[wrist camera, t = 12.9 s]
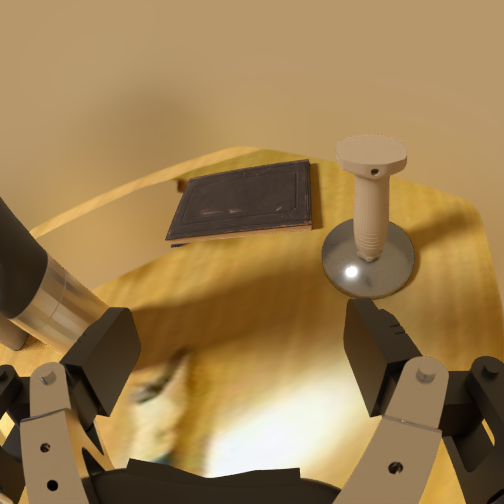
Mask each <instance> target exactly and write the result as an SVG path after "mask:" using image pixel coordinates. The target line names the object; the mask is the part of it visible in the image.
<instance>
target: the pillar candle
mask: <svg viewBox="0 0 504 504" xmlns="http://www.w3.org/2000/svg"><path fill="white" fill-rule="evenodd" d="M28 334H29V333H28V332H26V331H24V330H23V329H21V328H20V327H18V326H17V325H15V324H14V323H13V322H11V321H10V320H8V319H7V318H5V317H4V316H3V315H1V314H0V343H2V344H3V345H5V346H7V347H8V348H10V349H12V350H14V351H16V350H19V349H21V347H22V346H23V345H24V343H25V342H26V339H27V337H28Z"/></svg>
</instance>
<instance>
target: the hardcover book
mask: <svg viewBox="0 0 504 504" xmlns="http://www.w3.org/2000/svg"><path fill="white" fill-rule="evenodd" d="M309 166H310V163H309V159H305V160H297V161H290V162H282V163H275V164H268V165H262V166H255V167H249V168H243V169H237V170H231V171H226V172H220V173H215V174H210V175H205V176H200V177H195V178H190V179H189V182H188V184H187V186H186V189H185V191H184V193H183V196H182V198H181V201H180V203H179V206H178V208H177V211H176V213H175V215H174V218H173V220H172V223H171V226H170V228H169V231H168V233H167V236H166V239H165V240H170V242H171V243H172V244H171V248H174V247H182V246H185V245H186V244H188V243H190V242H196V241H205V240H215V239H225V238H235V237H245V236H255V235H265V234H276V233H286V232H297V231H308V230H312V213H311V189H310V170H309Z"/></svg>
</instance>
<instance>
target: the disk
mask: <svg viewBox="0 0 504 504" xmlns="http://www.w3.org/2000/svg"><path fill="white" fill-rule="evenodd" d="M353 219H354V218H353ZM353 219H350V220H347V221H345V222H343V223H341V224H339V225H338V226H336V227H335V228H334V229H333V230H332V231H331V232H330V233H329V234H328V236H327V237H326V239H325V241H324V244H323V247H322V262H323V268H324V271H325V274H326V276H327V278H328V279H329V281H330V282H331V283H332V284H333V285H334V286H335V287H336V288H337V289H338V290H340V291H341V292H343V293H344V294H346V295H349V296H351V297H354V298H365V297H369V298H370V299H371V300H374V299H380V298H384V297H387V296H390V295H392V294H394V293H395V292H397V291H398V290H399V289H401V288H402V287H403V286H404V285H405V283H406V282H407V280H408V279H409V277H410V275H411V272H412V269H413V265H414V259H415V255H414V248H413V245H412V243H411V241H410V239H409V237H408V236H407V234H406V233H405V232H404V231H403V230H402V229H401V228H399V227H398V226H397V225H395V224H394V223H392V222H390V221H389V226H388V233H387V237H386V241H385V244H384V246H383V249H382V250H383V252H382V255H381V257H380V258H376V259H374V260H373V261H372V262H367V261H366V260H365V259H363V258H359V257H358V255H357V246H356V243H355V237H354V226H353V225H354V224H353Z"/></svg>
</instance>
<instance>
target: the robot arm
mask: <svg viewBox="0 0 504 504" xmlns="http://www.w3.org/2000/svg"><path fill="white" fill-rule="evenodd" d="M0 314H1V315H3V316H4V317H5V318H7V319H8V320H10V321H11V322H13V323H14V324H15V325H17V326H18V327H20V328H21V329H23V330H24V331H26V332H28V333H29V334H31V335H32V336H34V337H35V338H37V339H39V340H40V341H42V342H43V343H45V344H47V345H48V346H50V347H52V348H53V349H55V350H57V351H59V352H60V353H62V354H64V355H65V356H64V357H63V358H62V359H61V361H60V362H59V363H57V362H50V363H46V364H43V365H41V366H40V367H38V368H37V369H36V370H35V371H34V372H33V373H32V375H31V377H19V376H18V374H17V372H16V370H15V369H14V367H13V366H11V365H1V366H0V420H1V418H2V416H3V415H4V413H5V412H7V414H8V415H9V416H10V418H11V419H12V420H13V422H14V423H15V425H14V427H13V428H12V430H11V432H10V434H9V435H8V437H7V439H6V441H5V443H4V445H3V446H2V447H1V446H0V504H18V503H19V500H20V497H21V495H22V492H23V490H24V487H25V485H26V488H27V494H28V499H29V503H30V504H418V503H419V501H420V498H421V496H422V494H423V491H424V489H425V486H426V483H427V481H428V478H429V475H430V472H431V469H432V466H433V463H434V460H435V457H436V454H437V451H438V447H439V444H440V440H441V437H442V439H443V441H444V444H445V446H446V448H447V451H448V454H449V456H450V459H451V461H452V464H453V467H454V469H455V472H456V475H457V478H458V480H459V483H460V486H461V489H462V492H463V495H464V498H465V502H466V504H504V364H503V363H502V362H501V361H500V360H498V359H496V358H494V357H490V356H482V357H479V358H477V359H476V360H475V361H474V362H473V363H472V366H471V368H470V370H469V371H448V370H447V368H446V366H445V365H444V364H443V363H441V362H440V361H438V360H437V359H434V358H431V357H424V356H422V354H421V353H420V351H419V350H418V349H417V347H416V346H415V344H414V343H413V341H412V340H411V339H410V337H409V336H408V334H407V333H405V330H404V329H403V327H402V326H400V323H399V322H398V321H397V319H396V318H395V317H394V315H392V314H390V313H389V312H387V311H386V310H384V309H380V310H378V308H377V307H376V306H375V304H374V303H373V301H372V300H371V299H370V298H369V297H365V298H356V299H349V300H348V303H347V310H346V319H345V328H344V337H343V340H344V349H345V352H346V355H347V357H348V360H349V362H350V365H351V368H352V370H353V373H354V375H355V378H356V381H357V383H358V386H359V389H360V391H361V394H362V397H363V399H364V402H365V405H366V408H367V410H368V413H369V416H370V417H375V416H379V415H382V419H381V421H380V423H379V425H378V427H377V429H376V431H375V433H374V435H373V437H372V439H371V441H370V443H369V445H368V447H367V449H366V450H365V452H364V454H363V456H362V458H361V459H360V461H359V463H358V465H357V466H356V468H355V470H354V471H353V473H352V475H351V476H350V478H349V479H348V481H347V483H346V484H345V486H344V487H343V489H340V488H338V487H336V486H333V485H331V484H328V483H325V482H321V481H318V480H313V479H307V478H300V468H290V469H276V470H254V471H249V472H244V473H239V474H234V475H228V476H222V477H216V478H205V477H201V476H198V475H195V474H192V473H189V472H186V471H183V470H180V469H177V468H174V467H171V466H169V465H165V464H158V463H152V462H146V461H141V460H136V459H131V458H130V459H129V462H128V465H127V468H121V469H115V468H114V467H113V465H112V463H111V461H110V459H109V456H108V453H107V451H106V448H105V445H104V442H103V440H102V437H101V434H100V431H99V428H98V425H97V423H96V421H95V420H94V419H95V417H96V415H102V416H106V417H110V414H111V412H112V410H113V408H114V406H115V404H116V402H117V400H118V398H119V396H120V394H121V392H122V390H123V387H124V385H125V383H126V381H127V379H128V377H129V375H130V373H131V371H132V369H133V367H134V365H135V364H136V362H137V360H138V358H139V355H140V341H139V337H138V334H137V331H136V328H135V324H134V321H133V318H132V314H131V312H130V310H129V309H128V308H124V307H109V306H108V305H106V304H105V303H104V302H103V301H101V300H100V299H99V298H98V297H97V296H95V295H94V294H93V293H92V292H91V291H89V290H88V289H87V288H86V287H85V286H83V285H82V284H81V283H80V282H79V281H78V280H77V279H75V278H74V277H73V276H72V275H71V274H70V273H69V272H68V271H66V270H65V269H64V268H63V267H62V266H61V265H60V264H59V263H58V262H57V261H56V260H54V259H53V258H52V257H51V256H50V255H49V254H48V253H47V252H46V251H45V250H44V249H43V248H42V247H41V246H40V245H39V244H38V243H37V242H36V240H35V239H34V238H33V237H32V235H31V234H30V233H29V232H28V230H27V229H26V228H25V227H24V226H23V224H22V223H21V222H20V221H19V220H18V219H17V218H16V217H15V215H14V214H13V213H12V212H11V210H10V209H9V208H8V207H7V205H6V204H5V203H4V201H3V200H2V199H1V197H0ZM484 418H485V420H486V422H487V424H488V426H489V428H490V430H491V431H492V433H493V436H494V439H495V444H494V446H493V444H492V442H491V440H490V438H489V436H488V434H487V432H486V430H485V428H484V426H483V424H482V423H481V422H482V421H483V420H484Z"/></svg>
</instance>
